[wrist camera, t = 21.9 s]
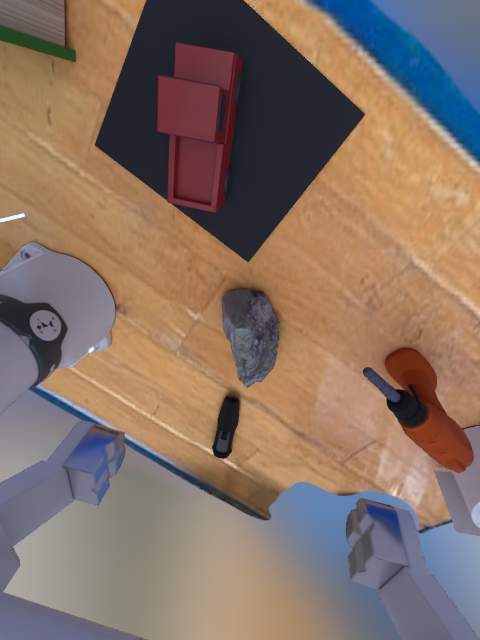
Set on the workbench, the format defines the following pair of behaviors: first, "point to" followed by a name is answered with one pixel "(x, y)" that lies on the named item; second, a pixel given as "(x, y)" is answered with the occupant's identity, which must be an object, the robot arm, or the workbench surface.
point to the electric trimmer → (226, 427)
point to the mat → (251, 118)
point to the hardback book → (35, 26)
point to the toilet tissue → (464, 490)
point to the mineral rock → (251, 333)
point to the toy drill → (423, 409)
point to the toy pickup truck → (200, 124)
